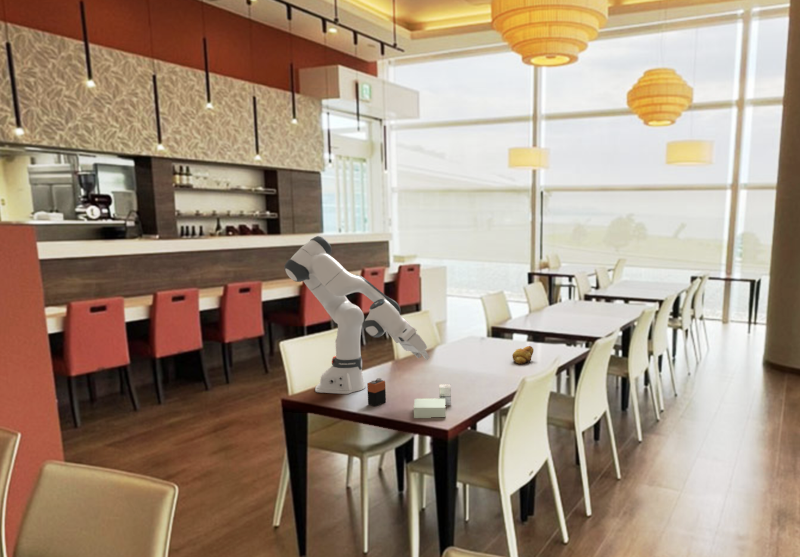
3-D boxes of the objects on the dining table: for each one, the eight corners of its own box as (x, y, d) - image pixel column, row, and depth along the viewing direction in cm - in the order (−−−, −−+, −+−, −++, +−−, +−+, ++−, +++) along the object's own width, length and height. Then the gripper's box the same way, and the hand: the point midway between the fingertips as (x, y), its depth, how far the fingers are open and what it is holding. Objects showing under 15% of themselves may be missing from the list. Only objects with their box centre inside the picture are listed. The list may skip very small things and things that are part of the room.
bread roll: (525, 366, 279) (525, 350, 278) (507, 363, 284) (507, 348, 284) (535, 360, 289) (534, 345, 289) (517, 358, 295) (517, 343, 294)
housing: (439, 405, 222) (439, 387, 221) (439, 402, 226) (439, 384, 226) (451, 405, 221) (450, 387, 221) (450, 402, 226) (450, 384, 225)
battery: (386, 402, 228) (385, 378, 227) (375, 406, 223) (374, 382, 222) (378, 400, 231) (377, 377, 230) (367, 404, 226) (366, 380, 225)
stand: (413, 418, 208) (413, 407, 208) (415, 408, 219) (414, 398, 219) (445, 417, 208) (445, 407, 207) (445, 408, 218) (445, 398, 218)
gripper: (388, 337, 231) (410, 361, 233) (404, 338, 211) (427, 365, 213) (399, 326, 232) (420, 351, 234) (415, 327, 213) (438, 353, 215)
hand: (423, 357), depth 224 cm, fingers open, 8 cm apart
